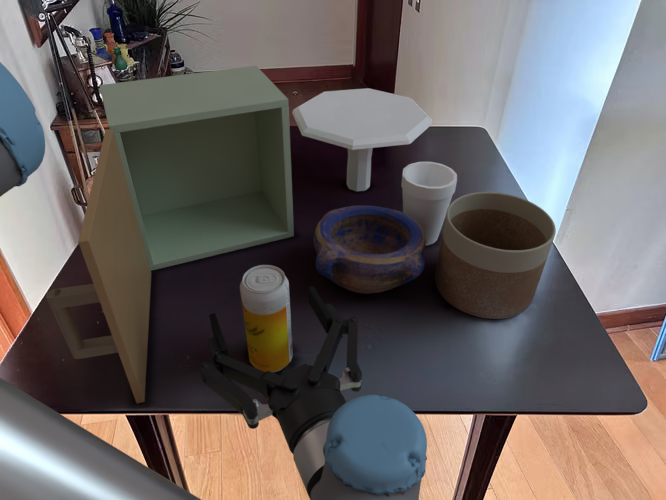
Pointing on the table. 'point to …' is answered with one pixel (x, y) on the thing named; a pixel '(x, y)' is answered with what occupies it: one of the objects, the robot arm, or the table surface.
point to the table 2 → (361, 125)
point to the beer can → (267, 317)
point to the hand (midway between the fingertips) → (263, 306)
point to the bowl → (369, 248)
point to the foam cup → (428, 195)
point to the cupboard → (204, 161)
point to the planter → (493, 254)
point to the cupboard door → (111, 273)
